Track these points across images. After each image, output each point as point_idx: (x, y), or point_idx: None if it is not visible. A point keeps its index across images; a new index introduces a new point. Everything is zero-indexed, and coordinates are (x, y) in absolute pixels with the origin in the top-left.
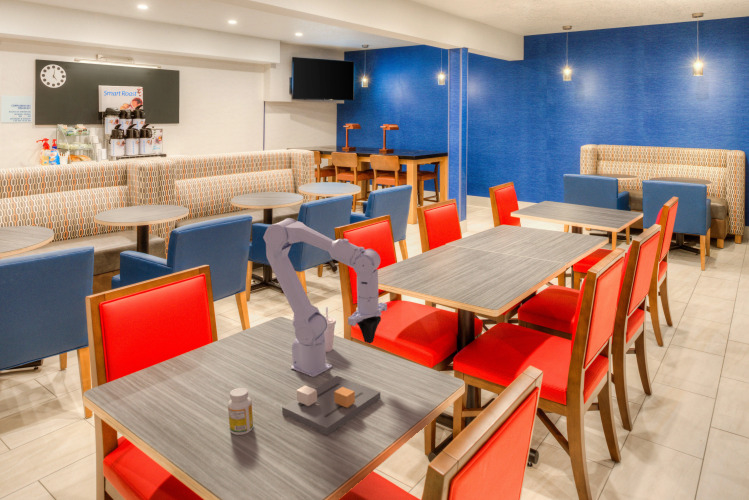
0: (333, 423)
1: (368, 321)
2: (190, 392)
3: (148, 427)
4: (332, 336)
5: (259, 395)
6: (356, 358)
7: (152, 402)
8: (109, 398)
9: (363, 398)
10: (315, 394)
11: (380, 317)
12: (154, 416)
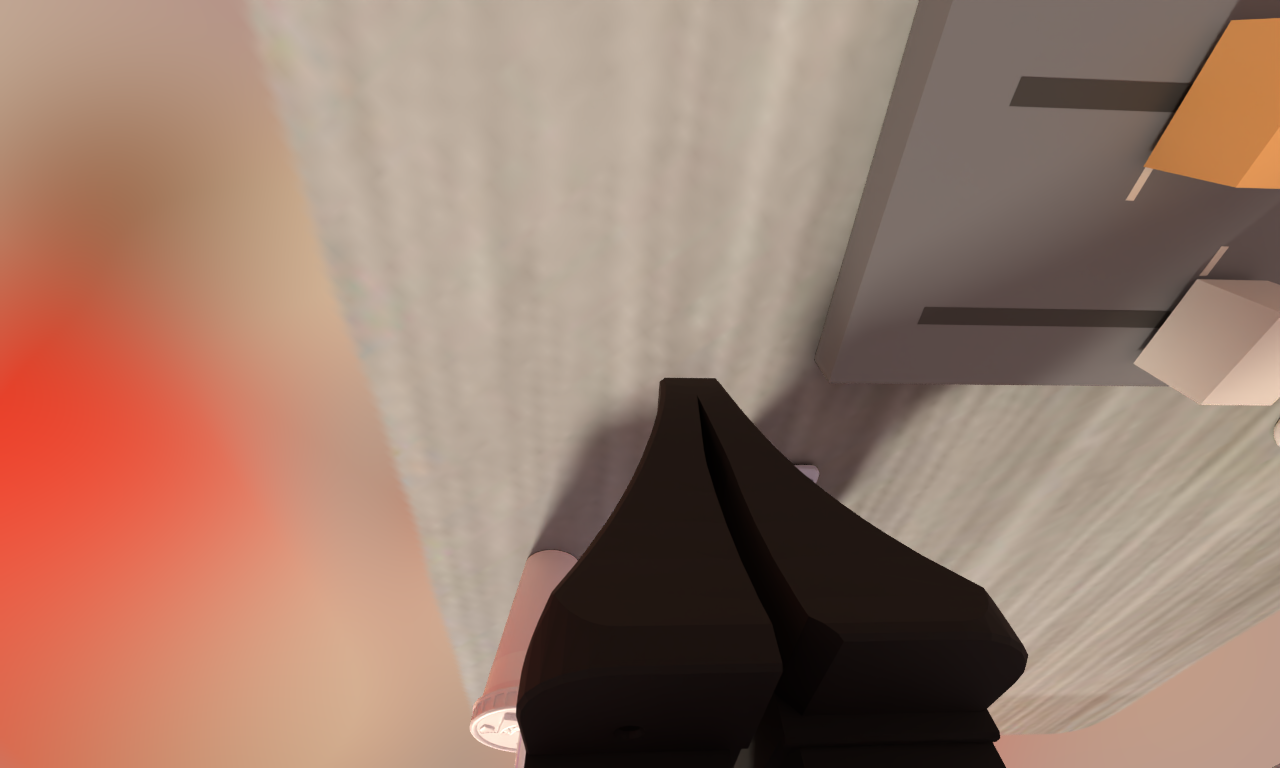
0: None
1: (918, 700)
2: (1044, 636)
3: (1274, 592)
4: (533, 616)
5: (1029, 514)
6: (527, 437)
7: (1117, 654)
8: (1103, 704)
9: (1113, 15)
10: (1266, 301)
11: (577, 682)
12: (1203, 615)
